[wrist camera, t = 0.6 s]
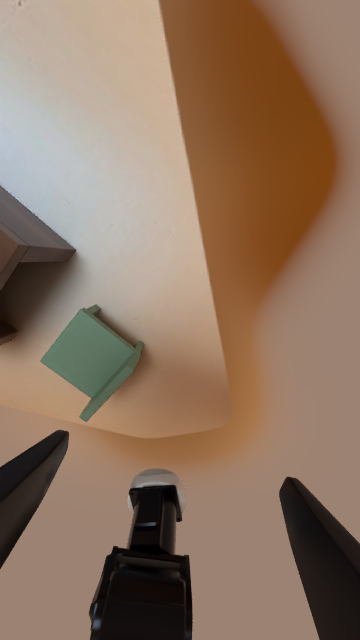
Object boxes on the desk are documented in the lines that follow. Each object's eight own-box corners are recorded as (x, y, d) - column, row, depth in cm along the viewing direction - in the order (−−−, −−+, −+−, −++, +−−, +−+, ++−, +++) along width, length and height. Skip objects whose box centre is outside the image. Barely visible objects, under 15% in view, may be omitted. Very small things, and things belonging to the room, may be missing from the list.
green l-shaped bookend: (108, 384, 25) (85, 422, 19) (58, 347, 24) (18, 375, 18) (146, 344, 23) (133, 371, 18) (95, 302, 22) (63, 317, 17)
